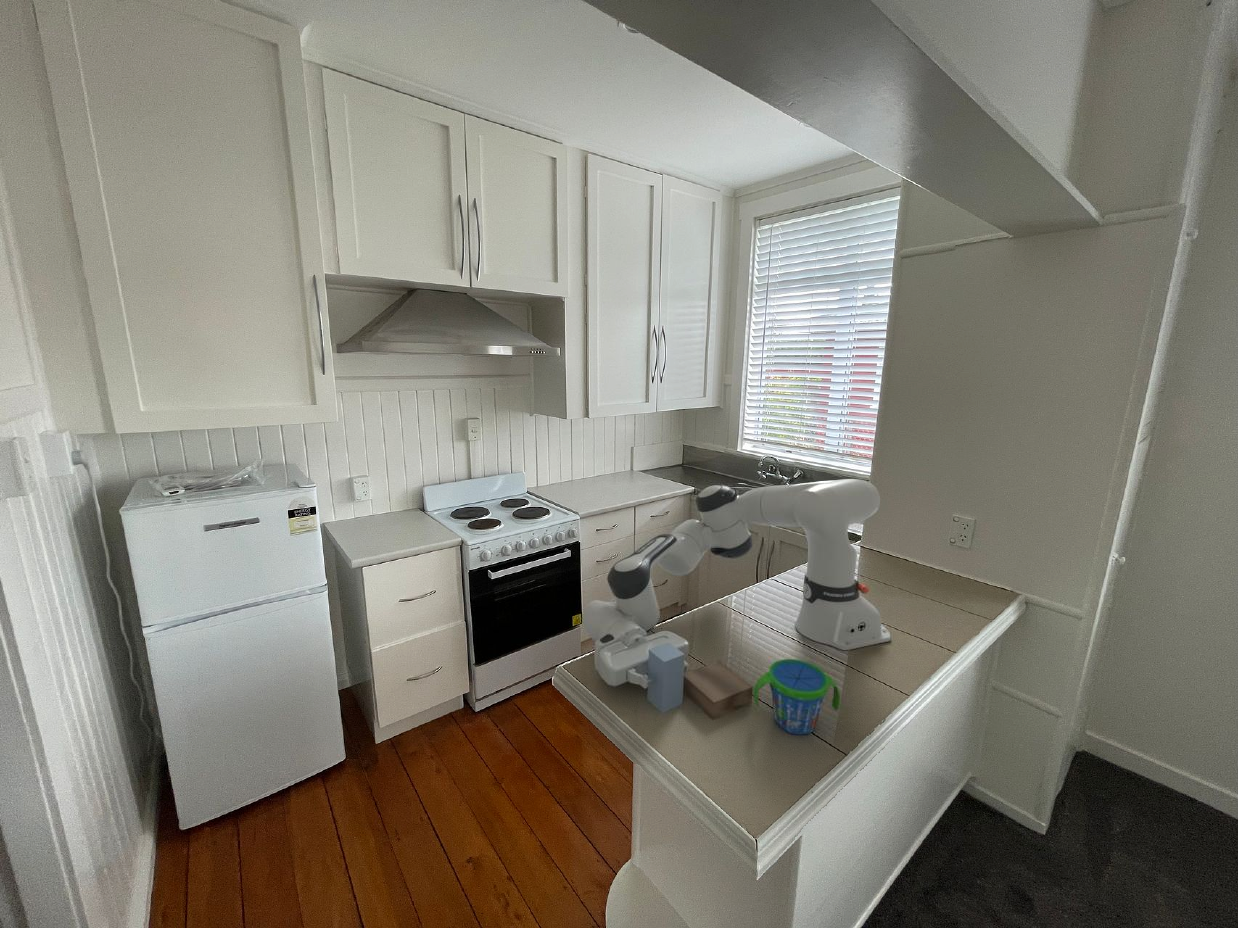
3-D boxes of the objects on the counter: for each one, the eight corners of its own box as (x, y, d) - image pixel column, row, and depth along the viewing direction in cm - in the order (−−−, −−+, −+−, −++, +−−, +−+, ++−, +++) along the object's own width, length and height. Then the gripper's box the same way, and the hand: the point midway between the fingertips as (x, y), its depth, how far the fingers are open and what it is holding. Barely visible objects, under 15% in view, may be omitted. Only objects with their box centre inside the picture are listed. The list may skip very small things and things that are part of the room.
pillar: (666, 690, 105) (668, 642, 103) (682, 704, 101) (684, 654, 98) (647, 698, 102) (648, 649, 100) (662, 713, 98) (664, 662, 96)
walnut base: (718, 677, 110) (719, 660, 109) (751, 704, 101) (752, 686, 101) (681, 691, 105) (682, 674, 104) (712, 720, 97) (713, 702, 96)
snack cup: (755, 737, 92) (758, 687, 90) (748, 700, 102) (752, 654, 100) (845, 748, 90) (851, 697, 88) (830, 708, 100) (835, 662, 98)
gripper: (665, 643, 117) (706, 673, 106) (588, 671, 106) (625, 708, 95) (666, 618, 116) (707, 646, 105) (588, 643, 105) (625, 678, 94)
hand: (667, 676), depth 100 cm, fingers open, 8 cm apart
